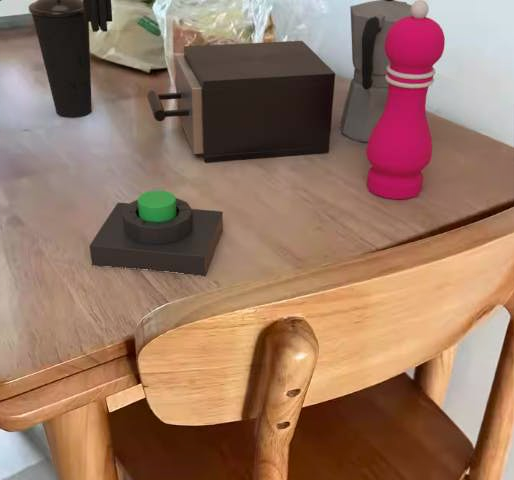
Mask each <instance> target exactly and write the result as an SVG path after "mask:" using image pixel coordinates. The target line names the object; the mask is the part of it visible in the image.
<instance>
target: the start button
mask: <svg viewBox="0 0 514 480" xmlns="http://www.w3.org/2000/svg"><path fill="white" fill-rule="evenodd" d="M176 198H177V197H176V196H175V194H174V193H172V192H170V191H166V190H159V189H157V190H150V191H145V192H143V193H141V194H140V195H139V196H138V197H137V200H138V210H139V217H140V218H141V219H143V220H145V221H154V222H161V221H167V220H170V219H172V218H174V217H176V214H177V212H176Z"/></svg>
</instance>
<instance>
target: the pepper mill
mask: <svg viewBox="0 0 514 480" xmlns="http://www.w3.org/2000/svg"><path fill="white" fill-rule="evenodd" d="M411 5H412V6H411V10H410V12H411V15H412V16H408V17H404V18H402V19H400V20H398V21H397V22H395V23H394V24H393V25H392V26H391V28H390V29H389V31H388V33H387V36H386V40H385V53H386V56H387V57H388V59H389V60H390V62H391V64H389V65H388V66H387V75H386V77H385V79H386V81H387V82H389V88H388V97H387V102H386V106H385V108H384V111H383V114H382V115H381V117H380V119H379V121H378V123H377V124H376V126H375V128H374V129H373V131H372V133H371V135H370V138H369V140H368V143H367V145H366V151H365V154H366V158H367V161H368V163H369V164H370V165H371V167H370V168H369V169H368V171H367V178H366V188H367V189H368V190H369V192H370V193H372V194H373V195H376V196H378V197H381V198H384V199H387V200H408V199H412V198H414V197H416V196H418V195H419V194H420V193H421V192H422V188H423V184H424V183H423V181H424V174H423V173H422V171H423V170H425V169H426V168H427V167H428V165H429V164H430V162H431V160H432V157H433V156H432V155H433V154H432V153H433V141H432V135H431V130H430V127H429V123H428V119H427V113H426V105H427V95H428V91H429V87H430V86H432V85H433V84H434V81H435V79H434V76H435V74H436V69H435V68H434V65H435V64H436V63H437V62H438V61H439V60H440V59H441V58H442V57H443V54H444V50H445V44H446V40H445V39H446V38H445V33H444V31H443V28H442V26H441V25H440V23H438V22H437V21H435V20H434V19H432V18H431V17H427V15H428V13H429V4H428V3H427V2H426V0H416V1H414V2H413V3H412V4H411Z"/></svg>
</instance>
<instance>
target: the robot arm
mask: <svg viewBox="0 0 514 480" xmlns="http://www.w3.org/2000/svg"><path fill="white" fill-rule="evenodd" d="M83 8H84V18H85V22H89V23H90V26H91V31H92V33H97V32H99V31H102V32H108V22H110V23H111V22H113V9H112V0H83Z"/></svg>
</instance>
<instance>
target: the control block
mask: <svg viewBox="0 0 514 480" xmlns="http://www.w3.org/2000/svg"><path fill="white" fill-rule="evenodd" d="M175 198H176V212H177V214H176V217H174V218H172V219H170V220H167V221H161V222H154V221H145V220H143V219H141V218H140V217H139V210H138V199H136V200H133V201H132V202H117V203H116V205H115V206H114V208H112V210H111V212H110V213H109V214H108V216H107V218H106V219H105V221H104V223H103V224H102V226H101V227H100V229H99V230H98V232H97V233H96V235H95V236H94V238H93V240H92V241H91V242H90V244H89V252H90V260H91V265H92V266H93V265H95V266H94V267H103V266H110V267H109V268H113V267H123V268H122V269H124V268H125V267H126V268H136V269H138V268H139V269H148V270H150V269H151V270H156V271H169V272H178V273H184V274H183V275H185V274H194V275H193V276H196V275H201V276H200V277H206V276H205V275H207V273H208V271H209V268H210V265H211V262H212V260H213V258H214V255H213V254H215V251H216V249H217V247H218V244H219V241H220V239H221V236H222V233H223V231H224V222H223V221H224V218H223V217H224V213H223V211H222V210H210V209H209V210H207V209H197V208H192V207H191V206H190V204H189V203H188V202H187V201H185V200H182V199H180V198H178V197H175ZM216 246H217V247H216ZM96 265H97V266H96ZM111 266H112V267H111Z"/></svg>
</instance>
